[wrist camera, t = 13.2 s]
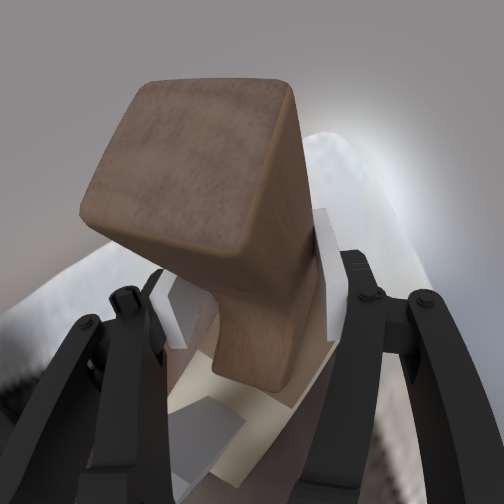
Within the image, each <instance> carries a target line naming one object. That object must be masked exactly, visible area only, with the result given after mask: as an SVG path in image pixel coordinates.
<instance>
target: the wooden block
mask: <svg viewBox="0 0 504 504" xmlns="http://www.w3.org/2000/svg"><path fill="white" fill-rule="evenodd" d="M79 216H80V217H81V219H82V220H83V221H84V222H85V223H86V225H87V226H88V227H90V228H92V229H93V230H95V231H97V232H99V233H100V234H102V235H104V236H106V237H107V238H109V239H111V240H113V241H114V242H116V243H118V244H120V245H122V246H123V247H125V248H127V249H129V250H131V251H132V252H134V253H136V254H138V255H140V256H142V257H143V258H145V259H147V260H149V261H151V262H153V263H154V264H156V265H158V266H160V267H162V268H164V269H166V270H168V271H170V272H171V273H173V274H175V275H177V276H179V277H181V278H183V279H185V280H187V281H189V282H191V283H193V284H194V285H196V286H198V287H200V288H202V289H204V290H206V291H208V292H210V293H212V295H213V296H214V298H215V300H216V301H217V303H218V304H219V317H220V331H219V335H218V340H217V344H216V348H215V353H214V357H213V362H212V366H211V368H212V372H213V373H215V374H216V375H218V376H221V377H224V378H227V379H230V380H233V381H236V382H239V383H242V384H245V385H248V386H252V387H255V388H258V389H261V390H265V391H268V392H271V393H279V392H280V391H281V390H282V389H283V388H284V387H285V386H286V385H287V384H288V383H289V381H290V377H291V374H292V371H293V367H294V364H295V361H296V357H297V354H298V350H299V347H300V343H301V340H302V336H303V332H304V329H305V325H306V321H307V318H308V314H309V310H310V306H311V302H312V298H313V295H314V291H315V287H316V283H317V279H318V274H317V268H316V262H315V255H314V220H313V212H312V204H311V197H310V190H309V183H308V176H307V169H306V163H305V156H304V150H303V144H302V138H301V132H300V126H299V120H298V115H297V109H296V104H295V98H294V94H293V91H292V88H291V87H290V85H289V84H288V83H286V82H284V81H281V80H277V79H276V80H275V79H255V78H254V79H253V78H205V79H204V78H203V79H202V78H200V79H178V80H164V81H152V82H149V83H147V84H145V85H144V86H143V87H141V88H140V89H139V91H138V92H137V94H136V95H135V97H134V99H133V100H132V102H131V104H130V106H129V107H128V109H127V111H126V113H125V114H124V116H123V118H122V120H121V122H120V123H119V125H118V127H117V129H116V131H115V133H114V135H113V136H112V139H111V140H110V142H109V144H108V146H107V148H106V150H105V152H104V154H103V156H102V158H101V160H100V162H99V165H98V167H97V169H96V171H95V173H94V175H93V177H92V180H91V182H90V184H89V186H88V188H87V191H86V193H85V196H84V198H83V200H82V202H81V205H80V213H79Z"/></svg>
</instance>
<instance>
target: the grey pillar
mask: <svg viewBox="0 0 504 504" xmlns="http://www.w3.org/2000/svg"><path fill="white" fill-rule="evenodd" d="M246 421H247V420H245V419H243V418H242V417H240V416H239V415H237V414H236V413H234V412H232V411H231V410H229V409H228V408H226V407H225V406H223V405H222V404H220V403H219V402H217V401H216V400H214V399H213V398H211V397H210V396H206V397H204V398H202V399H200V400H198V401H196V402H194V403H192V404H190V405H187V406H185V407H183V408H181V409H179V410H177V411H175V412H172V413H170V414H168V431H169V449H170V465H171V478H172V489H173V497H174V500H175V503H176V504H180V503H181V502H182V501H183V500H184V499H185V498H186V497H187V496H188V495H189V494H190V493H191V491H192V490H193V489H194V488H195V487H196V486H197V485H198V484H199V482H200V481H201V480H202V479H203V478H204V477H205V476H206V474H207V473H208V472H209V471H210V470H211V469H212V467H213V466H214V465H215V463H216V462H217V461H218V459H219V458H220V457H221V455H222V454H223V453H224V451H225V450H226V449H227V447H228V446H229V444H230V443H231V442H232V440H233V439H234V438H235V436H236V435H237V433H238V432H239V431H240V429H241V428H242V426H243V425H244V423H245V422H246Z"/></svg>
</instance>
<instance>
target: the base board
mask: <svg viewBox="0 0 504 504" xmlns="http://www.w3.org/2000/svg"><path fill="white" fill-rule="evenodd" d="M219 331H220V317H219V312H218V313H217V315H216V317H215V318H214V320H213V321H212V323H211V325H210V326H209V328H208V329H207V331H206V333H205V334H204V336H203V337H202V339H201V341H200V342H199V344H198V345H197V347H196V349H198V350H197V352H196V353H195V355H194V356H193V358H192V360H191V361H190V363H189V364H188V366H187V368H186V369H185V371H184V372H183V374H182V376H181V377H180V379H179V380H178V382H177V384H176V385H175V387H174V388H173V390H172V391H171V393H170V395H169V396H168V398H167V405H168V414H170V413H172V412H175V411H177V410H179V409H181V408H183V407H185V406H187V405H190V404H192V403H194V402H196V401H198V400H200V399H202V398H204V397H206V396H210V397H211V398H213V399H214V400H216V401H217V402H219V403H220V404H222V405H223V406H225V407H226V408H228V409H229V410H231V411H232V412H234V413H236V414H237V415H239V416H240V417H242V418H243V419H245V420H247V421H246V422H245V423H244V425H243V426H242V428H241V429H240V431H239V432H238V433H237V435H236V436H235V438H234V439H233V440H232V442H231V443H230V444H229V446H228V447H227V449H226V450H225V451H224V453H223V454H222V455H221V457H220V458H219V459H218V461H217V462H216V463H215V465H214V466H213V467H212V469H211V470H210V471H209V472H211V473H212V474H214V475H216V476H217V477H219V478H220V479H222V480H224V481H225V482H227V483H229V484H230V485H232V486H234V487H235V488H238V487H239V485H240V484H241V483H242V482H243V481H244V479H245V478H246V477H247V476H248V474H249V473H250V472H251V471H252V469H253V468H254V467H255V465H256V464H257V463H258V462H259V460H260V459H261V458H262V456H263V455H264V454H265V452H266V451H267V450H268V448H269V447H270V446H271V444H272V443H273V442H274V440H275V439H276V438H277V436H278V435H279V434H280V432H281V431H282V429H283V428H284V427H285V425H286V424H287V422H288V421H289V419H290V418H291V417H292V415H293V414H294V412H295V411H296V409H297V408H298V406H299V405H300V403H301V402H302V400H303V399H304V397H305V396H306V394H307V393H308V391H309V390H310V388H311V387H312V385H313V384H314V382H315V381H316V379H317V377H318V376H319V374H320V373H321V371H322V369H323V368H324V366H325V365H326V363H327V361H328V360H329V358H330V356H331V355H332V353H333V351H334V350H335V348H336V346H337V345H338V343H339V341H340V340H336V341H327V336H326V328H325V321H324V314H323V307H322V300H321V293H320V287H319V280H318V279H317V283H316V287H315V291H314V295H313V298H312V302H311V306H310V310H309V314H308V318H307V321H306V325H305V329H304V332H303V336H302V340H301V343H300V347H299V350H298V354H297V357H296V361H295V364H294V367H293V371H292V374H291V377H290V381H289V383H288V384H287V385H286V386H285V387H284V388H283V389H282V390H281V391H280V392H279V393H271V392H268V391H265V390H261V389H258V388H255V387H252V386H248V385H245V384H242V383H239V382H236V381H233V380H230V379H227V378H224V377H221V376H218V375H216V374H215V373H213V372H212V368H211V366H212V362H213V357H214V353H215V348H216V344H217V340H218V335H219Z"/></svg>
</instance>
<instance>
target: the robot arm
mask: <svg viewBox="0 0 504 504" xmlns="http://www.w3.org/2000/svg"><path fill="white" fill-rule="evenodd" d="M312 212H313V220H314V255H315V262H316V268H317V274H318V280H319V287H320V293H321V300H322V307H323V314H324V321H325V328H326V336H327V341H336V340H340V343H339V347H338V351H337V355H336V360H335V364H334V368H333V372H332V376H331V379H330V383H329V387H328V391H327V394H326V398H325V402H324V405H323V409H322V412H321V416H320V419H319V422H318V426H317V429H316V432H315V435H314V439H313V442H312V445H311V448H310V451H309V454H308V457H307V460H306V463H305V466H304V469H303V472H302V474H301V476H300V478H299V479H298V480H297V481H296V483H295V485H294V487H293V489H292V492H291V494H290V496H289V499H288V502H287V504H357V503H358V499H359V494H360V487H361V482H362V477H363V473H364V468H365V464H366V459H367V454H368V449H369V444H370V439H371V434H372V428H373V422H374V416H375V410H376V403H377V396H378V389H379V381H380V372H381V363H382V353H383V352H386V353H395V354H399V358H400V362H401V365H402V369H403V373H404V377H405V382H406V386H407V390H408V394H409V399H410V403H411V408H412V412H413V417H414V422H415V427H416V432H417V438H418V443H419V449H420V455H421V461H422V467H423V474H424V481H425V489H426V497H427V504H504V446H503V443H502V439H501V436H500V433H499V430H498V427H497V424H496V421H495V418H494V415H493V412H492V409H491V406H490V404H489V401H488V398H487V396H486V393H485V390H484V388H483V385H482V383H481V380H480V378H479V375H478V373H477V370H476V368H475V366H474V363H473V361H472V359H471V356H470V354H469V352H468V350H467V347H466V345H465V343H464V341H463V339H462V336H461V334H460V332H459V330H458V328H457V326H456V324H455V322H454V320H453V318H452V316H451V314H450V312H449V310H448V308H447V306H446V304H445V302H444V300H443V298H442V297H441V296H440V295H439V294H438V293H436V292H435V291H432V290H428V289H419V290H415V291H413V292H412V293H410V295H409V297H408V300H406V299H397V298H392V297H389V296H387V295H386V293H385V291H384V290H383V289H382V288H380V287H378V286H377V283H376V281H375V278H374V276H373V273H372V271H371V269H370V266H369V264H368V261H367V259H366V257H365V255H364V254H363V253H362V252H360V251H359V250H348V251H339V249H338V245H337V242H336V239H335V236H334V233H333V230H332V226H331V223H330V220H329V217H328V214H327V211H326V208H324V209H313V210H312ZM205 294H206V290H204V289H202V288H200V287H198V286H196V285H194V284H193V283H191V282H189V281H187V280H185V279H183V278H181V277H179V276H177V275H175V274H173V273H171V272H170V271H168V270H166V269H157V270H156V271H155V272H154V273H153V274H151V275H150V277H149V279H148V280H147V283H146V284H145V285H144V287H143V289H142V290H141V292H140V290H139V288H138V287H136V286H132V285H131V286H125V287H122V288H119V289H118V290H116V291H114V292H113V293H112V294H111V295H110V297H109V301H110V303H111V305H112V307H113V309H114V311H115V313H116V319H112V320H108V321H104V322H102V321H101V320H100V318H99V316H98V315H96V314H88V315H85V316H82V317H81V318H80V319H78V320H77V321H76V322H75V323H74V325H73V326H72V328H71V330H70V331H69V333H68V334H67V336H66V337H65V339H64V341H63V342H62V344H61V345H60V347H59V349H58V350H57V352H56V354H55V355H54V357H53V359H52V360H51V362H50V364H49V365H48V367H47V369H46V371H45V372H44V374H43V376H42V377H41V379H40V381H39V383H38V385H37V386H36V388H35V390H34V392H33V394H32V395H31V397H30V399H29V401H28V403H27V405H26V407H25V409H24V410H23V412H22V414H21V416H20V418H19V417H18V416H17V415H16V414H15V413H14V412H12V411H11V410H10V409H8V408H6V407H3V406H0V504H74V502H75V498H76V495H77V492H78V495H77V504H176V503H175V500H174V497H173V489H172V478H171V465H170V449H169V431H168V405H167V354H166V351H165V349H164V344H165V342H166V339H167V342H168V344H169V346H170V348H171V349H188V346H189V343H190V340H191V337H192V333H193V330H194V327H195V324H196V321H197V318H198V315H199V312H200V309H201V306H202V303H203V300H204V297H205ZM89 359H90V360H91V362H92V363H93V365H92V367H91V368H89V367H88V365H87V362H88V360H89ZM93 445H94V451H93V461H92V466H91V467H90V468H88V469H85V468H86V465H87V462H88V459H89V456H90V453H91V450H92V447H93Z"/></svg>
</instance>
